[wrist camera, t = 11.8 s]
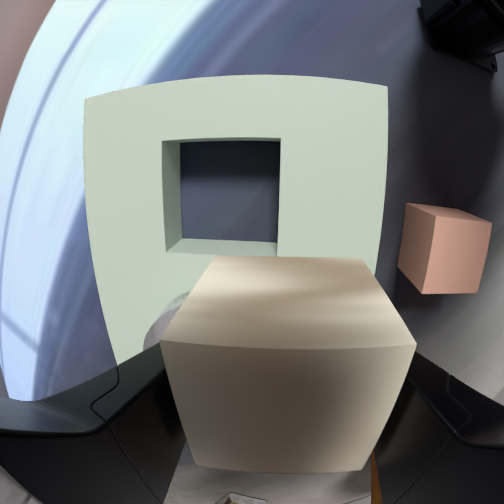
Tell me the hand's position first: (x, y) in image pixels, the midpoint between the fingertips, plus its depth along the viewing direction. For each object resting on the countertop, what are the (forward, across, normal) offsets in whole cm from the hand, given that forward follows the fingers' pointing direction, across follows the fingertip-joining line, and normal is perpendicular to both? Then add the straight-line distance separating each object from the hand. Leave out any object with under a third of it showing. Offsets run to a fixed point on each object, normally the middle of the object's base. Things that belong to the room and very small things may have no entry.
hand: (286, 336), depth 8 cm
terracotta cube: (+11, -10, 0) cm, 15 cm away
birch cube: (+1, 0, 0) cm, 1 cm away
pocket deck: (+11, +4, +1) cm, 12 cm away
